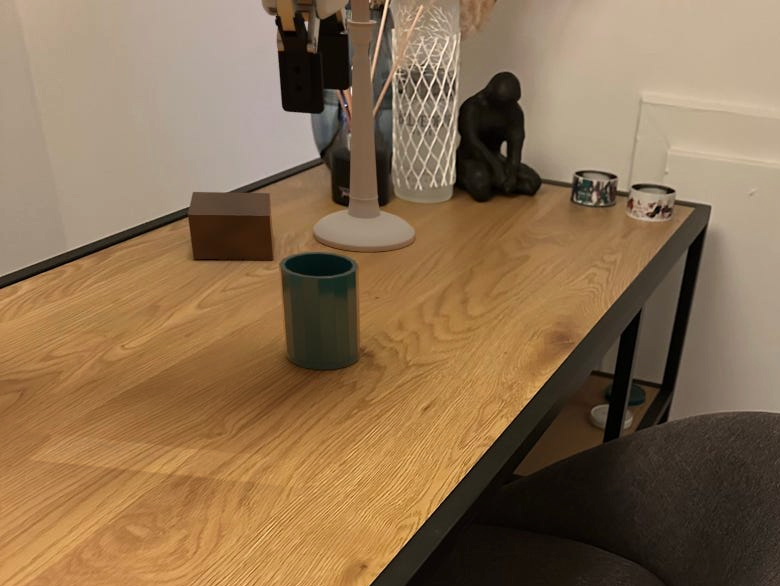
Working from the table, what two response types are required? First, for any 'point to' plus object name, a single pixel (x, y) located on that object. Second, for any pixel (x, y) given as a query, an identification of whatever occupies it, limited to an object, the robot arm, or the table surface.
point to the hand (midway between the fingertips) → (318, 99)
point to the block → (231, 226)
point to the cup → (320, 309)
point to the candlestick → (362, 163)
